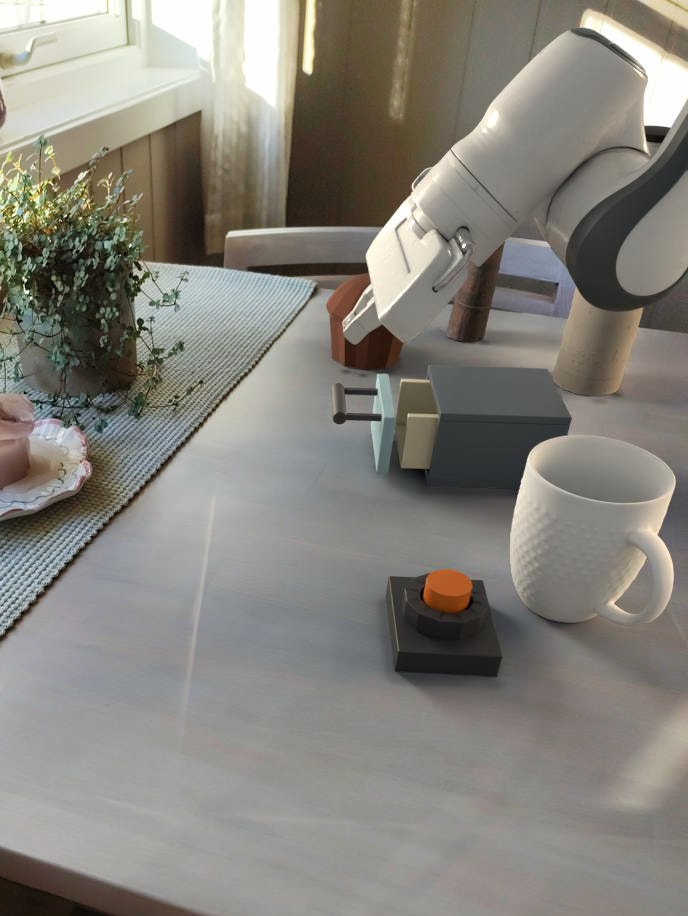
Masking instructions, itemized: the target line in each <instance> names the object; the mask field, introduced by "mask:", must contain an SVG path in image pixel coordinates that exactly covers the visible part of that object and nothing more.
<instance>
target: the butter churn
mask: <svg viewBox="0 0 688 916" xmlns="http://www.w3.org/2000/svg"><path fill="white" fill-rule="evenodd" d="M505 245H506V241H505V242H504V243H503V244H502V245H501V246H500V247H499V248H498V249H497V250H496V251H495V252H494V253H493V254H492V255H491V256H490V257H489V258H488V259H487V260H486V261H485V262H484V263H483V264H482V265H481V266H479V267H478V266H476V265H474V264H473V263H471V262H470V261H469V260H468V261H469V263H468V265H467V268H468V276H467V279H466V281H465V283H464V284H463V286H462V287H461V288H460V290H459V291H458V292H457V293H456V295H455V298H454V301H453V305H452V309H451V312H450V316H449V320H448V323H447V327H446V333H445V334H446V336H447V337H448V338H450V339H452V340H454V341H458V342H463V343H467V342H473V341H481V340H483V339H484V338H485V336H486V331H487V327H488V321H489V316H490V311H491V309H492V304H493V299H494V295H495V290H496V286H497V282H498V277H499V272H500V269H501V262H502V258H503V253H504V249H505Z"/></svg>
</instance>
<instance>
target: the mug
mask: <svg viewBox="0 0 688 916" xmlns="http://www.w3.org/2000/svg"><path fill="white" fill-rule="evenodd" d="M676 483H677V481H676V476H675V474H674V472H673V470H672V469H671V468H670V467H669V466H668V464H667V463H666V462H665V461H664V460H662V459H661V458H659V457H658V456H656V455H655V454H653V453H651V452H650V451H648V450H646V449H644V448H641V447H639V446H636V445H635V444H632V443H629V442H625V441H622V440H619V439H614V438H611V437H605V436H600V435H588V434H572V435H571V434H570V435H567V436H561V437H556V438H552V439H549V440H546V441H544V442H542V443H540V444H538V445H537V446H535V447H534V448H533V449H532V450H531V452H530V454H529V456H528V459H527V463H526V467H525V471H524V475H523V478H522V480H521V485H520V489H518V494H517V495H516V496H517V499H516V502H515V506H514V512H513V517H512V522H511V529H510V530H511V531H510V534H509V535H510V537H509V541H510V544H509V554H510V555H509V563H510V572H511V577H512V582H513V584H514V588H515V590H516V593H517V595H518V597H519V598H520V600H521V601H522V603H523V604H524V605H525V607H527V608H528V609H529V610H530V611H531V612H533V613H534V614H536V615H538V616H540V617H542V618H543V619H546V620H549V621H553V622H558V623H566V624H575V623H582V622H587V621H589V620H592V619H594V618H595V617H597V616H600V617H601V618H604V619H606V620H608V621H609V622H612V623H614V624H615V625H616V624H617V625H620V626H624V627H639V626H643V625H646V624H649V623H651V622H653V621H655V620H656V619H657V618H658V617H660V615H661V614H662V613H663V612H664V611H665V609H666V607H667V605H668V603H669V601H670V599H671V597H672V592H673V588H674V578H675V577H674V564H673V560H672V557H671V554H670V551H669V549H668V548H667V546H666V544H665V542H664V541H663V540H662V539H661V538H660V536H659V532H660V530H661V529H662V525H663V522H664V519H665V517H666V515H667V513H668V508H669V505H670V502H671V500H672V498H673V494H674V491H675V488H676ZM646 560H647V562H648V563H649V564H648V565H649V568H650V572H651V588H650V593H649V598H648V601H647V603H646V605H645V607H644V608H643V609H642V610H641V611H640V612H639V613H630V612H626V611H624V610H623V609H622V608H620V607H618V606H617V605H616V604H615V603H616V601H618V600H619V598H621V597H622V595H624V593H625V592H626V590H628V588H629V587H630V586H631V584H632V583H633V581H635V579H636V578H637V575H639V572H640V571H641V570H642V568H643V566H645V562H646Z"/></svg>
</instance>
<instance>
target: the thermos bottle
mask: <svg viewBox="0 0 688 916" xmlns="http://www.w3.org/2000/svg"><path fill="white" fill-rule="evenodd" d="M644 128H645V136H646V141H647V146H648V149H649V152H650V157H649V156H647V157H648V158H649V159H651V158H652V157H653V156H654V155H655V153H656V152H657V150H658V149H659V147H660V145H661V144H662V142H663V140H664V139H665V137H666V135H667V133H668V132H669V130H670V128H671V126H670V127H669V126H663V125H644ZM644 309H645V307H643V308H640V309H636V310H631V311H624V312H612V311H606V310H602V309H599V308H597V307H595V306H593V305H591V304H590V303H588V302H587V301H586V300H585V299H584V298H583V297H582V295H581V294H580V292H579V291H578V289H577V287H576V286H575V289H574V293H573V297H572V302H571V307H570V310H569V314H568V318H567V320H566V324H565V327H564V331H563V335H562V339H561V342H560V347H559V350H558V353H557V358H556V362H555V365H554V371H553V374H552V379H553V381H554V383H555V385H556V386H557V387H558V388H561V389H562V390H565V391H568V392H570V393H574V394H577V395H582V396H591V397H592V396H593V397H594V396H595V397H599V396H600V397H601V396H607V395H612V394H614V393H616V392H617V391H618V390H619V389H620V387H621V383H622V381H623V378H624V374H625V371H626V368H627V365H628V360H629V357H630V354H631V351H632V348H633V345H634V341H635V338H636V335H637V332H638V329H639V325H640V322H641V319H642V315H643V312H644Z"/></svg>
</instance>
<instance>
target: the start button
mask: <svg viewBox="0 0 688 916" xmlns="http://www.w3.org/2000/svg"><path fill="white" fill-rule="evenodd" d="M429 573H430V574H429V575H428V576H427V579H426V584H425V589H424V594H423V599H424V602H425V603H426V604H427V606H429V607H430V608H432V609H435V610H438V611H440V612H447V613H458V612H461V611H463V610H465V609H466V608H467V606H468V604H469V600H470V596H471V591H472V587H473V585H472V582H471V580H472V579H471V578H470V577H469V576H467V575H466V574H464V573H463V572H460V571H458V570H454V569H447V568H445V569H444V568H443V569H437V570H433V571H432V572H429Z"/></svg>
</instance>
